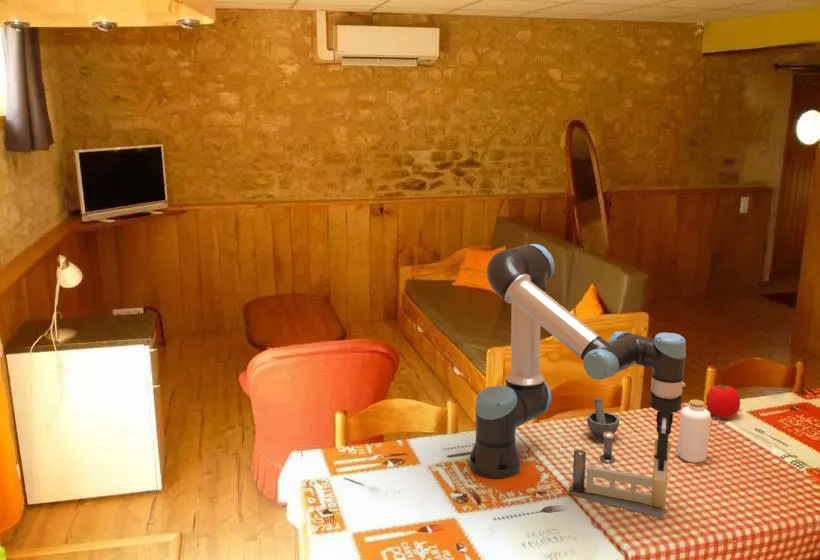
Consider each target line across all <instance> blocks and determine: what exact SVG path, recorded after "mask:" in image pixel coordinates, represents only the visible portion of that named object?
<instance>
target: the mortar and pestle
mask: <svg viewBox="0 0 820 560" xmlns="http://www.w3.org/2000/svg"><path fill="white" fill-rule="evenodd" d="M593 402H594V410H595V411H594V412H592V413H589V414H588V415H587V421H586V422H587V427H588V429H589V431H590V432H591V433H592V436H591V437H592V439H593V441H596V442H598V443H604V436H603V435H604V432H612V433H614V434H615V433H616V432H617V430H618V428H619V425H620V418H619V417H618V416H617V415H615V414H613V413H610V412H605V411H604V410H605V409H604V406H603V398H602V397H595V398H593Z"/></svg>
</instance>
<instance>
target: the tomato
mask: <svg viewBox="0 0 820 560" xmlns="http://www.w3.org/2000/svg"><path fill="white" fill-rule="evenodd" d="M705 399H706V401H705V402H706V403H705V404H706V407H707V410H708V411H709V412H710V414H711V415H713V416H714V417H718V418H721V419H725V418H731V417H734V416H735V415H737V413H738V411H739V410H740V407H741V398H740V394H739V392H738V390H737V389H736V388H734V387H732V386H731V385H730V384H729V385H724V384H723V385H722V384H720V383H718V385H714V386H711V387H710V388H709V390H708V391H707V394H706V397H705Z"/></svg>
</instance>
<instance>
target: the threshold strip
mask: <svg viewBox="0 0 820 560" xmlns="http://www.w3.org/2000/svg"><path fill="white" fill-rule="evenodd" d="M571 496H573V494H572V495H571ZM577 498H580V499H585V500H589V501H592V502H595V503H600V504H602V503H603V505H606V504H608V505H607V506H610V505H611V506H610V507H613V506H615V507H614V508H617V507H619V508H618V509H621V508H623V509H622V510H624V509H626V510H625V511H628V510H630V511H629V512H632V511H633V512H632V513H635V512H637V513H636V514H639V513H641V514H640V515H643V514H644V515H643V516H646V515H649V516H648V517H650V516H652V517H651V518H654V517H657V518H661V519H662V520H663V518H664V516H665V514H666V512H665V511H667V509H666V508H664V507H655V506H653V505H651V504H646V503H641V502H635V501H630V500H625V499H620V498H614V497H609V496H604V495H599V494H593V493H587V494H586V495H582V496H578V497H577ZM664 513H665V514H664ZM663 515H664V516H663ZM657 518H656V519H657ZM661 519H660V520H661Z"/></svg>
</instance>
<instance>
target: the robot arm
mask: <svg viewBox="0 0 820 560" xmlns="http://www.w3.org/2000/svg"><path fill="white" fill-rule="evenodd" d="M554 272H555V261H554V258H553V256H552V254H551V252H549V251H548V249H547V248H546V247H545V246H543V245H541V244H538V243H531V244H522V245H519V246H515V247H513V248H511V247H510V248H508V249H502V250H500V251H497V252H496V253H495V254H494V255H493V256H492V257H491V258H490V260H489V261H488V264H487V267H486V278H487V282H488V283H489V285H490V287H491V288H492V290H493V291H494V292H495V293H496V294H497V296H498V297H500V299H502V300H503V301H504V302H505V303H507V304H510V305H511V313H510V314H511V316H510V317H511V318H510V319H511V321H510V323H511V324H510V325H511V326H510V327H511V329H510V333H511V334H510V371H509V373H507V375H505V385H495V386H493V385H491V386H489V387H488V386H487V387H486V388H483V389H482V390H481V391H479V392H478V394H477V397H476V400H475V401H476V402H475V409H474V410H475V442H474V444H473V447H472V450H471V453H470V455H469V468H470V469H471V470H472V472H474V473H475V474H476V475H479V476H481V477H485V478H489V479H505V478H510V477H513V476H516V474H518V473H519V472H520V471H521V466H522V465H521V463H522V460H521V456H520V453H519V449H518V447H517V443H516V434H517V433H516V429H517V428H518V427H520V426H522V425H524V424H526V423H528V422H530V421H532V420H535V419H537V418H539V417H541V416H542V415H543V414H545V413H546V412H547V411H548V409H549V408H550V406H551V403H552V392H551V388H550V387H548V386H549V385H548V383H547V382H546V381H545V376H544V375H543V374H542V373H541V372H540V371H541V370H540V368H541V367H540V364H541V362H540V361H541V359H540V357H541V327H542V328H543V329H544V330H546V331H547V332H548V333H550V335H552V336H553V337H554V338H556V339H557V340H558V341H559V342H561V344H562V345H564V346H565V347H566V348H568V349H569V351H572V353H574V355H576V356H578V358H580V359H581V360H582V363H583V364H582V365H583V369H585V372H586V374H587V375H588V376H589V377H590V378H592V379H594V380H597V381H598V380H599V381H600V380H605V379H607V378H611V377H613V376H616V374H617V373H620V372H622V371H624V370H626V369H628V368H630V367H632V366H634V365H637V366H640V367H646V368H650V369H652V371H651V373H652V374H651V381H650V382H651V383H650V385H651V386H650V391H651V392H650V403H649V406H650V407H651V408H652V409H653V410H655V411H657V412H656V417H655V420H656V421H655V422H656V433H657V440H658V444H657V455H655V454H653V459H654V458H656V465H655V478H654V480H656V481H662V482H665V480H666V467H667V446H668V441H669V435H670V434H671V432H672V425H673V421H674V413H677V412H680V410H682V401H683V397H682V394H683V387H684V388H685V387H686V383H685V382H684V377H685V376H684V373H685V363H686V357H687V356H686V355H687V352H686V349H687V347H686V343H687V342H686V339H685V338H684V336H682V335H681V334H679V333H674V332H659V333H657V334H655V336H654V338H652V337H647V336H643V335H639V334H635V333H632V332H629V331H619V330H618V331H617V330H616V331H615V332H613V333H612V335H611V336H610V337H609V339H608V341H607V340H605V338H603V337H602V336H600V335H599V334H598V333H596V332H595V330H593V329H592V328H590V327H589V326H588V325H586V323H584V322H582V321H581V320H580V319H579V317H576V316H575V315H574V314H572V312H570V311H569V310H567V309H566V308H565V307H564V306H563V305H561V304H560V303H559V302H557V301H556V300H555V299H554V298H552V297H551V296H550V295H548V294H547V293H546V292H547V281H549V280H550V279H551V277H552V276H553V275H554Z"/></svg>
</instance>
